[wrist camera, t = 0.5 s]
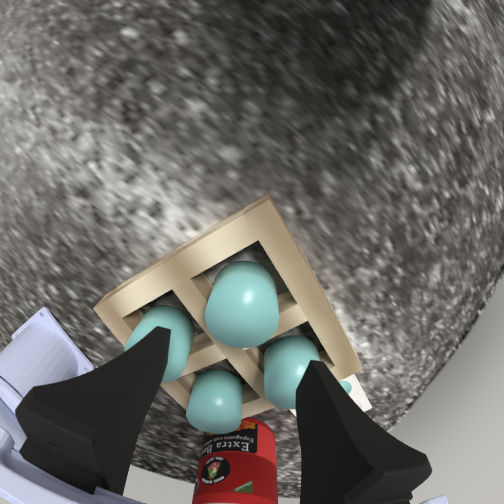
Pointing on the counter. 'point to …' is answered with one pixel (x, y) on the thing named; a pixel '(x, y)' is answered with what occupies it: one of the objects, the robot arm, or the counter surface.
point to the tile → (352, 393)
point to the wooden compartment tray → (199, 289)
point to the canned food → (238, 466)
